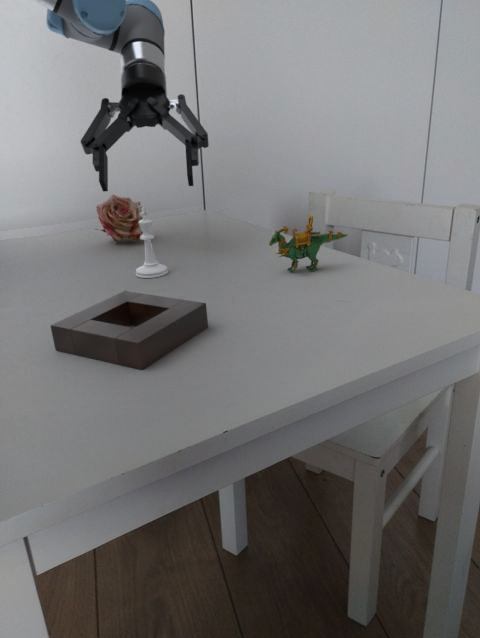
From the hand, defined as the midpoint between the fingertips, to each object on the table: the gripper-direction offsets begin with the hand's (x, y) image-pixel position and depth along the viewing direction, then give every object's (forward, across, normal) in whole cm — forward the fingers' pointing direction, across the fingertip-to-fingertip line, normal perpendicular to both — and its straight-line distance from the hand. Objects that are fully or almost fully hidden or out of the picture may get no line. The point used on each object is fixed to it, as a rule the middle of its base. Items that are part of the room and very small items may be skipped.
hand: (147, 183), depth 90 cm
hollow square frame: (+32, 0, +15) cm, 35 cm away
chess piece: (+14, 0, -3) cm, 15 cm away
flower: (-1, +7, -19) cm, 20 cm away
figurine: (+17, -24, -1) cm, 29 cm away
